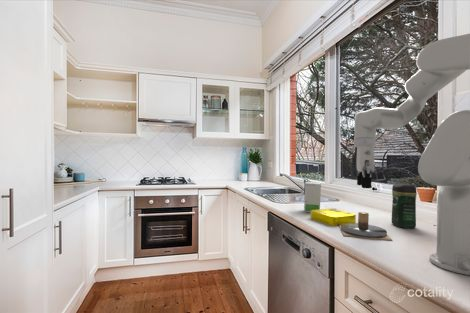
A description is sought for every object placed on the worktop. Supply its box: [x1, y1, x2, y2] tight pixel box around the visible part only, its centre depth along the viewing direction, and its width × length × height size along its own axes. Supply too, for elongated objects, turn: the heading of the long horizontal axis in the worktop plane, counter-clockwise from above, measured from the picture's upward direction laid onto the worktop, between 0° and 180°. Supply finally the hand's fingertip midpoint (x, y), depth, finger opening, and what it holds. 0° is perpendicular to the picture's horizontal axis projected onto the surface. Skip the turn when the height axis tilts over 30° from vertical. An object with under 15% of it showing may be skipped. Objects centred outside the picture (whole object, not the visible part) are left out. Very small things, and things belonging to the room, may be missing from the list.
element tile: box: [310, 207, 357, 227], centre depth 118 cm, size 15×15×5 cm
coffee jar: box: [391, 182, 418, 229], centre depth 110 cm, size 10×8×19 cm
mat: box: [338, 224, 393, 242], centre depth 100 cm, size 16×16×1 cm
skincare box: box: [303, 181, 322, 213], centre depth 137 cm, size 8×7×16 cm
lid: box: [340, 211, 388, 238], centre depth 100 cm, size 16×16×7 cm
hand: (363, 186), depth 100 cm, fingers open, 9 cm apart
